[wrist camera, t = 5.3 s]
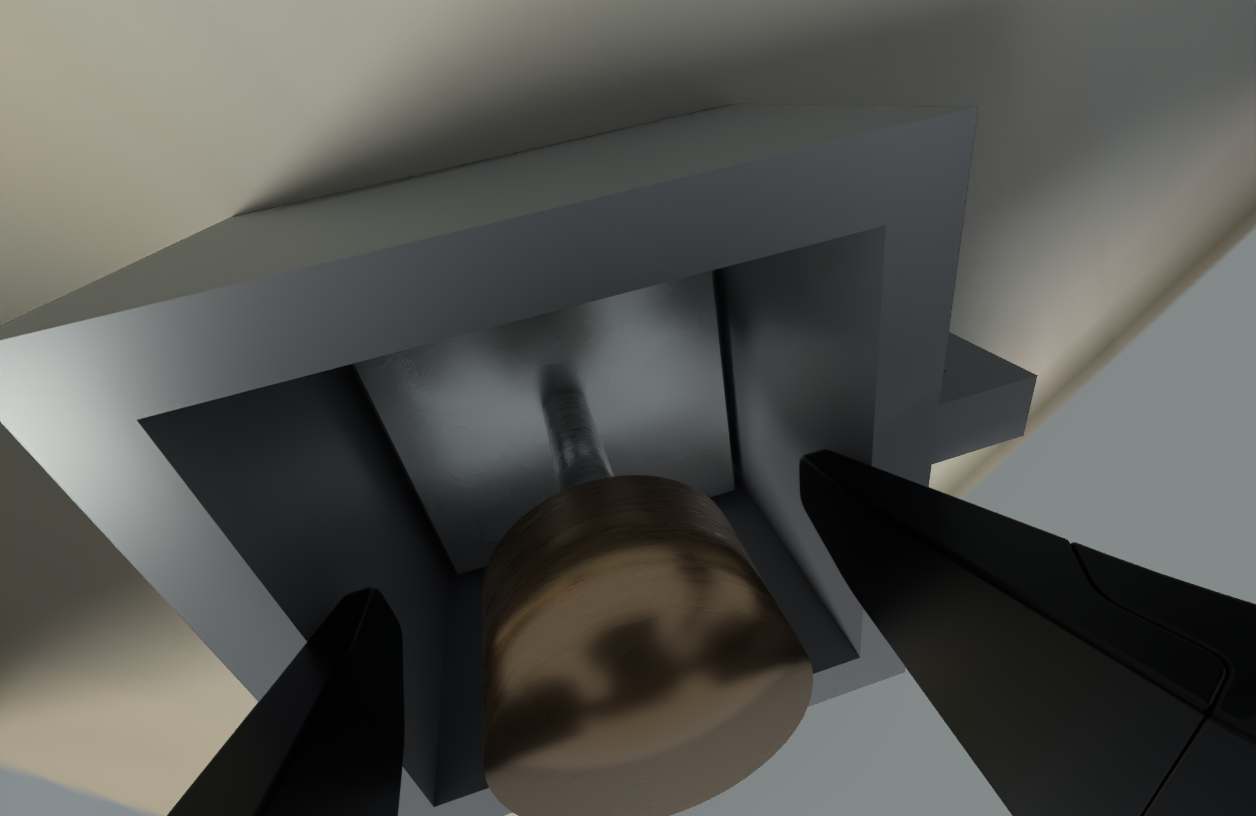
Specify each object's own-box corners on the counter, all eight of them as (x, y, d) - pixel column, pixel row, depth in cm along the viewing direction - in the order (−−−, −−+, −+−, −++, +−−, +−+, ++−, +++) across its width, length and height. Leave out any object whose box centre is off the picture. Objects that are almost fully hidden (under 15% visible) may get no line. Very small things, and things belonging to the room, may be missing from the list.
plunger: (694, 197, 11) (1016, 341, 4) (725, 476, 15) (928, 783, 8) (328, 286, 10) (57, 623, 4) (458, 557, 14) (441, 969, 7)
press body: (845, 78, 12) (1180, 59, 6) (838, 456, 17) (1015, 632, 11) (229, 218, 10) (-61, 355, 5) (426, 582, 15) (398, 852, 10)
